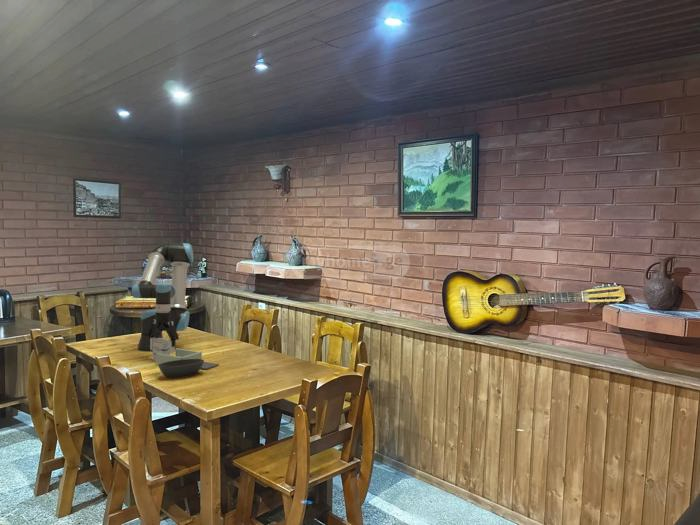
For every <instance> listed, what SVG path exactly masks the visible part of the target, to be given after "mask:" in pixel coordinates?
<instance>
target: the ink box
mask: <svg viewBox="0 0 700 525" xmlns="http://www.w3.org/2000/svg"><path fill="white" fill-rule="evenodd" d="M170 340H171V339H170V338H169V339H168V338H165V337H163V338H155V339H153V351H152V361H155V362H157V354H158V353H159V354H165V355H171V353H170Z"/></svg>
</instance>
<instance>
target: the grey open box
mask: <svg viewBox="0 0 700 525" xmlns="http://www.w3.org/2000/svg"><path fill="white" fill-rule="evenodd" d="M202 354H203V352H202V351H198V350H197V351H195V350H190V349H184V348H175V355H172V354H170V355H165V354H159V353H158V354H157V361H156V366H158V365H159V364H161V363H164V362H169V361H175V360H183V359H202Z"/></svg>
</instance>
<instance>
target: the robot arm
mask: <svg viewBox="0 0 700 525" xmlns="http://www.w3.org/2000/svg"><path fill="white" fill-rule="evenodd" d="M193 250H194V249H193V246H192V244H191V243H186V242H163V243H160V244H158V245H157V246H155V247H154V248H153V249H152V250H150V252H149V253H148V256H147V264H146V266H145V268H144V270H143V273H142V276H141V278H140V279H139V283H137V284H133V285H132V286H131V287H132V288H131V296H132V298H134V299H155V308H152V309H146V310H143V311H142V312H141V313H140V314H141V316H140V317H141V318H140V322H141V323H140V338H139V342H138V344H137V350H138V351H142V352H153V339H155V338H164V337H163V332H166V333H167V335H168V337H169V340H170V354H172V353H175V351H176V348H175V347H176V341H177V340H180V338H179V335H178V332H181V331H182V332H184V331H185V330H186V329H187V328H188V326H189V323H190V312H189V311H188V309H187V307H186V303H185V302H186V289H187V278H188V275H187V274H188V268H189V267H190V266H191V263H193V262H194V251H193ZM166 262H169V264H170V266H171V267H172V268H171V270H172V271H171V272H172V273H171V282H158V283H156V284H155V282H156V279H157V277H158V275H159V272H160V269H161V267H162V265H163V264H165V263H166Z"/></svg>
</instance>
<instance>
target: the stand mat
mask: <svg viewBox="0 0 700 525" xmlns="http://www.w3.org/2000/svg"><path fill="white" fill-rule="evenodd" d="M219 366H220V363H214V362H207V361H204V363H203V365H202V367H201V369H200V370H204V371H207V370H210V369H213V368H216V367H219Z"/></svg>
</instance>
